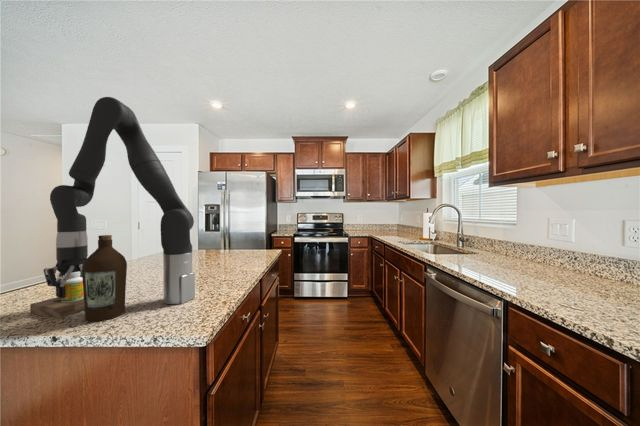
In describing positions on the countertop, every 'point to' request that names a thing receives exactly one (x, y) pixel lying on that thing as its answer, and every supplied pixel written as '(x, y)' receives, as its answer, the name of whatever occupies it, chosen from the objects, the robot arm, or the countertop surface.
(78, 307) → the socket board
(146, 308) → the countertop surface
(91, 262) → the olive oil
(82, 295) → the supplement bottle
